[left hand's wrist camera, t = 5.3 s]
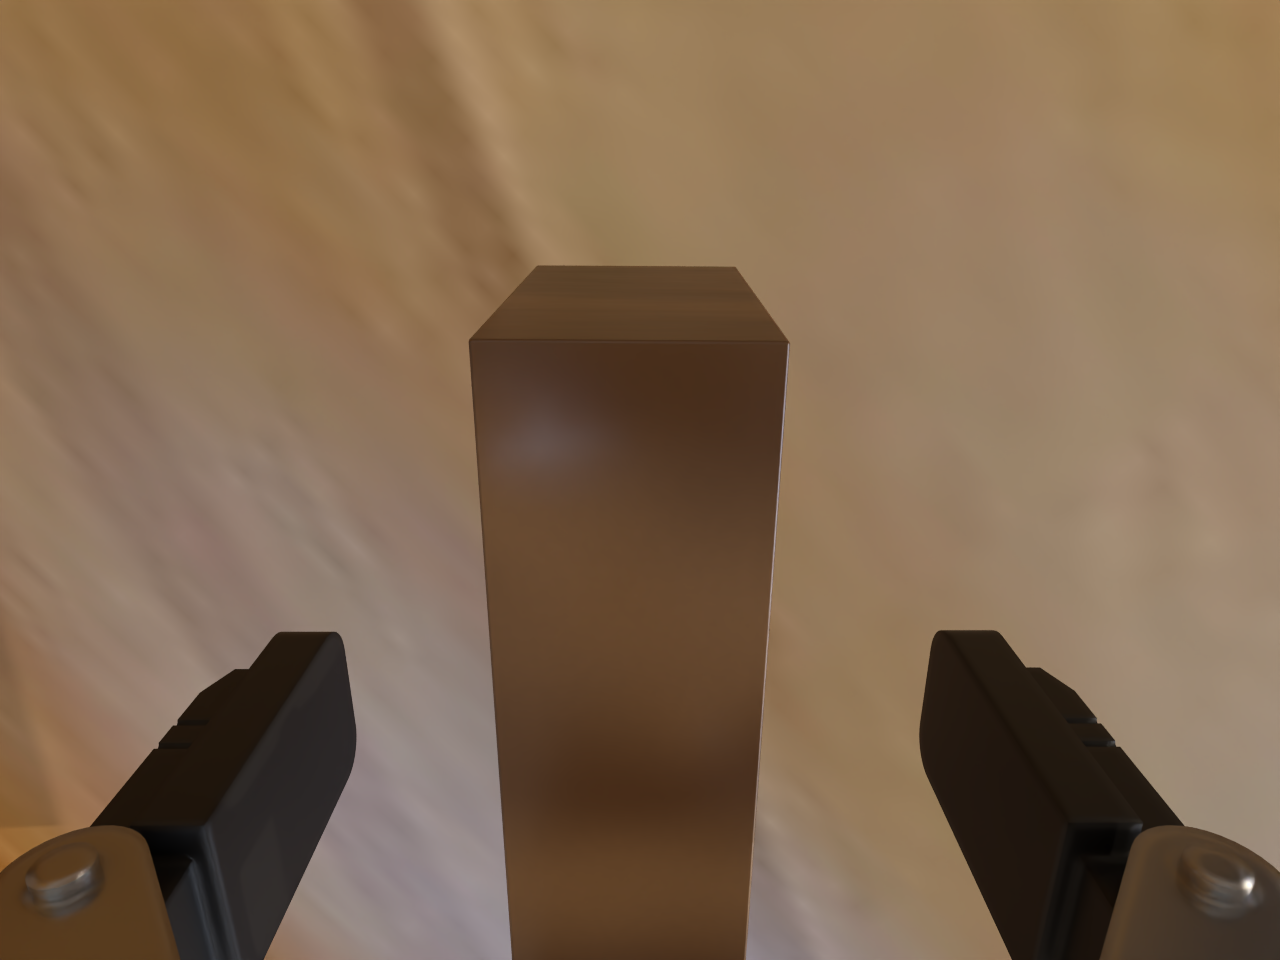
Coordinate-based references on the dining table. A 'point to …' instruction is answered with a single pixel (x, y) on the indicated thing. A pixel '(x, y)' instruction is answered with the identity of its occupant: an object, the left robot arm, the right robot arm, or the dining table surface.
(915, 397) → the dining table surface
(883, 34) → the dining table surface
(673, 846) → the bar
